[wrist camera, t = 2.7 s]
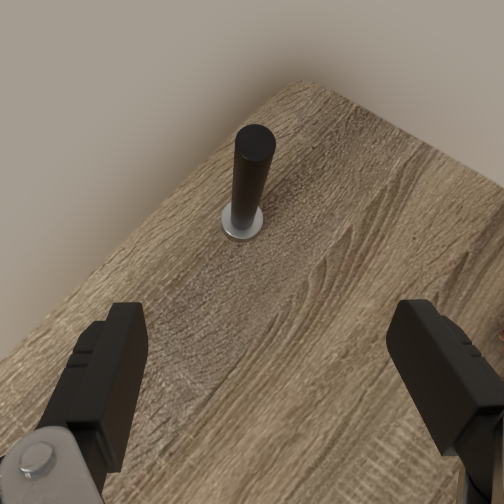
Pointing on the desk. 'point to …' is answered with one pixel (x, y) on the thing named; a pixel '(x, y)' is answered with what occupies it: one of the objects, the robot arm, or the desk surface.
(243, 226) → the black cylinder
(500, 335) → the spindle conch shell
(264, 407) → the desk surface
